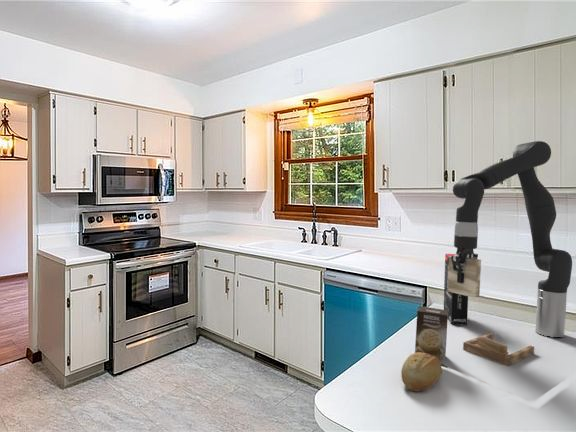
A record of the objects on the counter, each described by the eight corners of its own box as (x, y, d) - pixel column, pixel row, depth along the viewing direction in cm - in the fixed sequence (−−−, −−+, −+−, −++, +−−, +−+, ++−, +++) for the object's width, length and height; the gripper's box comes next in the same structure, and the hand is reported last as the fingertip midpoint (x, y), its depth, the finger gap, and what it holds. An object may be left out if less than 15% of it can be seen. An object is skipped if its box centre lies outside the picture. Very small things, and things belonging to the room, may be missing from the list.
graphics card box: (468, 326, 152) (471, 259, 151) (450, 324, 153) (453, 258, 152) (457, 314, 169) (460, 254, 167) (441, 312, 170) (444, 253, 169)
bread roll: (447, 378, 106) (448, 350, 106) (431, 400, 95) (432, 369, 94) (413, 368, 112) (414, 342, 112) (394, 387, 100) (395, 358, 100)
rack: (489, 342, 135) (490, 333, 134) (533, 357, 123) (534, 346, 123) (462, 352, 125) (463, 342, 125) (508, 369, 113) (508, 358, 113)
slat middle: (480, 348, 126) (480, 342, 125) (508, 358, 118) (508, 351, 118) (473, 350, 123) (473, 344, 123) (501, 360, 116) (501, 354, 116)
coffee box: (413, 360, 117) (415, 310, 117) (415, 353, 123) (417, 305, 123) (445, 367, 114) (447, 315, 113) (446, 359, 119) (448, 309, 119)
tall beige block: (452, 290, 140) (454, 255, 139) (479, 296, 131) (481, 259, 131) (447, 291, 138) (449, 256, 137) (473, 297, 129) (475, 260, 129)
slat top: (484, 342, 125) (485, 336, 125) (507, 352, 118) (507, 345, 118) (477, 344, 124) (477, 338, 124) (499, 353, 116) (499, 347, 116)
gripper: (466, 233, 141) (464, 278, 141) (444, 234, 133) (442, 282, 133) (486, 235, 134) (484, 282, 135) (465, 236, 126) (462, 286, 127)
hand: (463, 282), depth 134 cm, fingers closed on tall beige block, 3 cm apart
